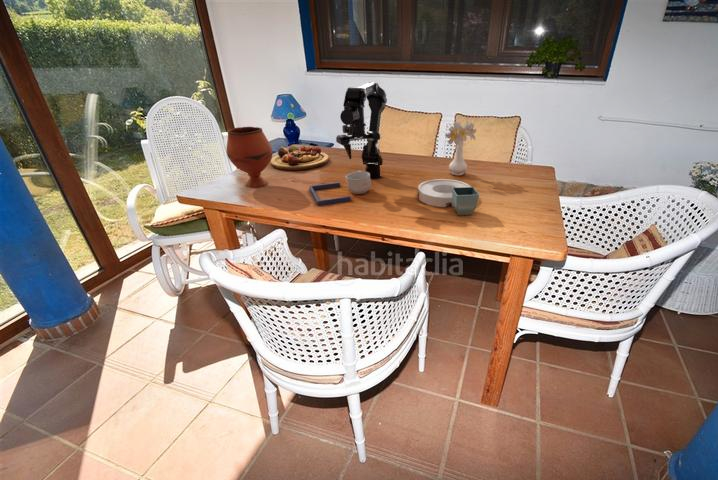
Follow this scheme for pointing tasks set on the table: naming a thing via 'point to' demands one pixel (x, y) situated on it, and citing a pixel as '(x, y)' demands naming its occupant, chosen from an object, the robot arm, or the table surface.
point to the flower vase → (459, 145)
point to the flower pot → (465, 200)
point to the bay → (327, 201)
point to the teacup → (358, 182)
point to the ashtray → (438, 191)
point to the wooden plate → (299, 158)
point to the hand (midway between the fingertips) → (359, 157)
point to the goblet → (249, 152)
